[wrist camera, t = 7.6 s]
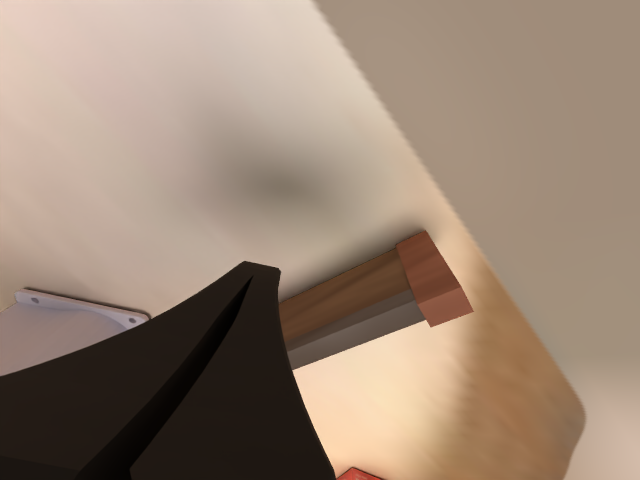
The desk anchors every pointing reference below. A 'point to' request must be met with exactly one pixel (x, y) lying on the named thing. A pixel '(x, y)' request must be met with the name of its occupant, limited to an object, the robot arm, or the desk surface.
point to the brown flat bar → (372, 302)
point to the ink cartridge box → (356, 475)
